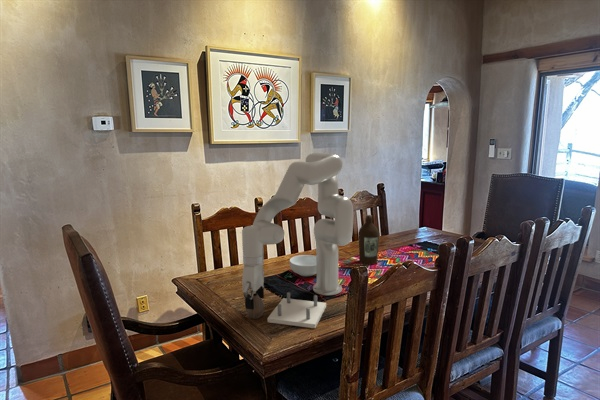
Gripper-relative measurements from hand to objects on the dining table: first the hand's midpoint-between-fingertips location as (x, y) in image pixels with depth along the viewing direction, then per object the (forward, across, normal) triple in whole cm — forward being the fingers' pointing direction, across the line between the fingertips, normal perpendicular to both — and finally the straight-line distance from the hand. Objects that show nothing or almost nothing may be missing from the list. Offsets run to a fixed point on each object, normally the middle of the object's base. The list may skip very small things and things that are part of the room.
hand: (254, 303), depth 148 cm
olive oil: (+5, -72, +34) cm, 80 cm away
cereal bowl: (+6, -48, +7) cm, 49 cm away
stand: (+5, -6, +15) cm, 17 cm away
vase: (+6, 0, 0) cm, 6 cm away
